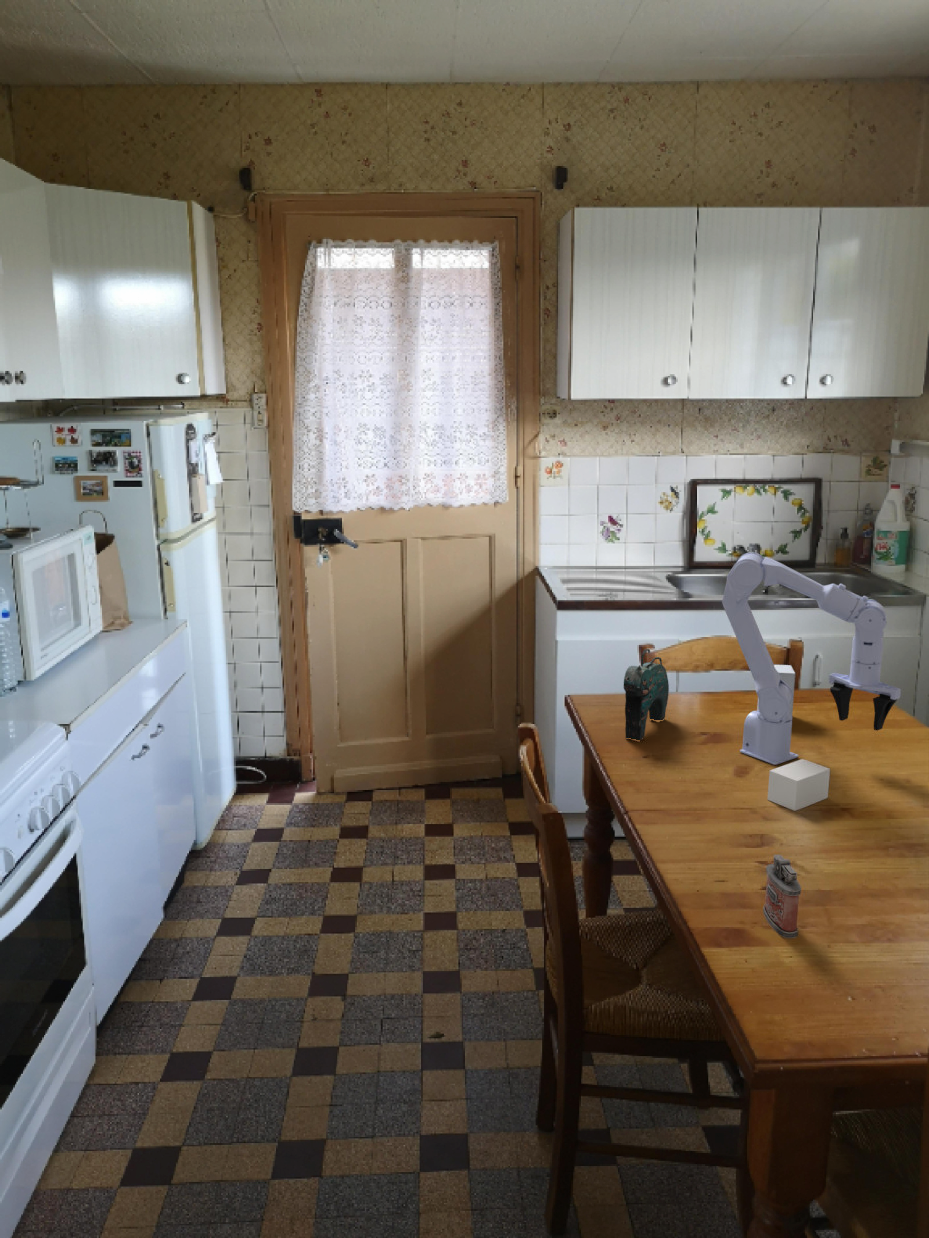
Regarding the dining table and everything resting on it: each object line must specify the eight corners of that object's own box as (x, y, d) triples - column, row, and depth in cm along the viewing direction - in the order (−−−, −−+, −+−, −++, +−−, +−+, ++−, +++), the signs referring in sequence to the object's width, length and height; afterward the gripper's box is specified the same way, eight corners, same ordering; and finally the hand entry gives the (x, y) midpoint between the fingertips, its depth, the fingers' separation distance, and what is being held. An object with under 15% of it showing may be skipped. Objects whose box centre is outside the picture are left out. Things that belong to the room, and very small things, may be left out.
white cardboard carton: (794, 810, 178) (797, 781, 176) (767, 799, 183) (769, 770, 181) (827, 797, 183) (830, 768, 182) (800, 787, 188) (802, 758, 187)
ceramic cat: (641, 745, 211) (644, 659, 206) (614, 740, 214) (616, 655, 210) (672, 719, 227) (676, 638, 223) (647, 715, 231) (649, 635, 226)
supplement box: (792, 725, 223) (796, 673, 220) (759, 723, 224) (762, 671, 221) (788, 714, 230) (791, 664, 227) (756, 713, 231) (759, 663, 228)
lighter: (758, 909, 144) (762, 848, 142) (779, 907, 145) (784, 847, 142) (779, 938, 137) (784, 875, 134) (802, 937, 137) (807, 874, 134)
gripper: (822, 656, 196) (817, 719, 199) (890, 672, 185) (883, 738, 188) (841, 650, 200) (836, 712, 203) (908, 665, 189) (902, 730, 192)
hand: (860, 724), depth 196 cm, fingers open, 7 cm apart
